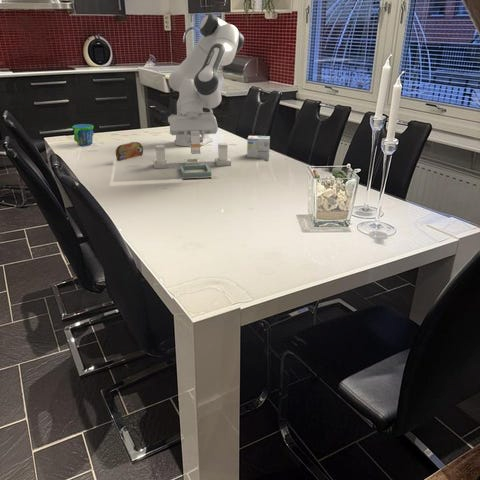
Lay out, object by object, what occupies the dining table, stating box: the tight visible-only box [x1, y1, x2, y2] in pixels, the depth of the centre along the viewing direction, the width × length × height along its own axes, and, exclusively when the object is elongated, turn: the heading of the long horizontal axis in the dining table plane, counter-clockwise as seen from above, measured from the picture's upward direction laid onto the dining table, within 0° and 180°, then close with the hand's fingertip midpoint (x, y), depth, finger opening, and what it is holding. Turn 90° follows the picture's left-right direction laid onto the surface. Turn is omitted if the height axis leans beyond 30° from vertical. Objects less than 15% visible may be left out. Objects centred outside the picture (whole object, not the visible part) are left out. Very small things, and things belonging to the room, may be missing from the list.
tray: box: [179, 165, 212, 181], centre depth 200 cm, size 12×12×3 cm
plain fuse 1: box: [155, 144, 166, 163], centre depth 206 cm, size 4×4×9 cm
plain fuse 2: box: [217, 142, 228, 161], centre depth 211 cm, size 4×4×9 cm
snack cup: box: [71, 123, 95, 147], centre depth 248 cm, size 16×10×10 cm
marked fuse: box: [190, 131, 201, 155], centre depth 194 cm, size 4×4×9 cm
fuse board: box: [153, 156, 232, 170], centre depth 210 cm, size 9×34×4 cm, turn 102°
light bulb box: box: [246, 135, 271, 161], centre depth 226 cm, size 11×7×11 cm, turn 84°
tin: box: [115, 141, 144, 161], centre depth 220 cm, size 15×3×8 cm, turn 143°
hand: (195, 142), depth 194 cm, fingers closed on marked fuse, 4 cm apart
